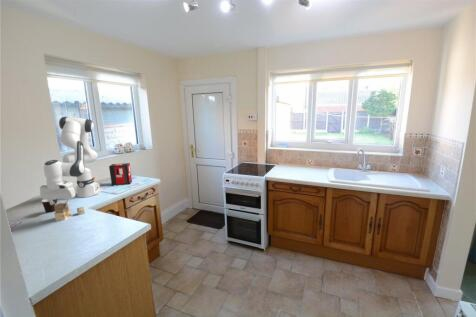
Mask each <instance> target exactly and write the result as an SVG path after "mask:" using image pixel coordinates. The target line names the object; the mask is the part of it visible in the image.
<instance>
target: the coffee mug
mask: <svg viewBox="0 0 476 317" xmlns="http://www.w3.org/2000/svg"><path fill="white" fill-rule="evenodd" d="M51 200H52V201H53V202H54V203H55V204H54V205H50V202H49V201H48V200H47V199H42V200H41V204H42V206H43V209H44V211H45V213H50V214H51V213H53V212H54V213H55V208H54V206H55V205H57V204H58V199H51Z"/></svg>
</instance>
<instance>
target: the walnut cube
mask: <svg viewBox="0 0 476 317" xmlns="http://www.w3.org/2000/svg"><path fill="white" fill-rule="evenodd" d="M68 205H69V204H68ZM68 205H65V202H59V203H57V205H55V206H54V208H55V211H54V213H64V212H65V211H67V210H69V209H70V208H69V206H68Z"/></svg>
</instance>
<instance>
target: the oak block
mask: <svg viewBox="0 0 476 317" xmlns="http://www.w3.org/2000/svg"><path fill="white" fill-rule="evenodd" d="M68 209H69V210H67V211H65V212H64V213H55V212H54V218H55V220H63V221H67V220H68V219H69V217H70V216H71V215H72V213H71V209H70V208H68ZM71 217H72V216H71ZM71 217H70V218H71ZM67 218H68V219H67ZM66 219H67V220H66Z"/></svg>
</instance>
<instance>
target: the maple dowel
mask: <svg viewBox="0 0 476 317" xmlns="http://www.w3.org/2000/svg"><path fill="white" fill-rule="evenodd" d="M76 212H77V215H78V216H80V215H84V214H85V207H84V206H80V207H78V208H76Z"/></svg>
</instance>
